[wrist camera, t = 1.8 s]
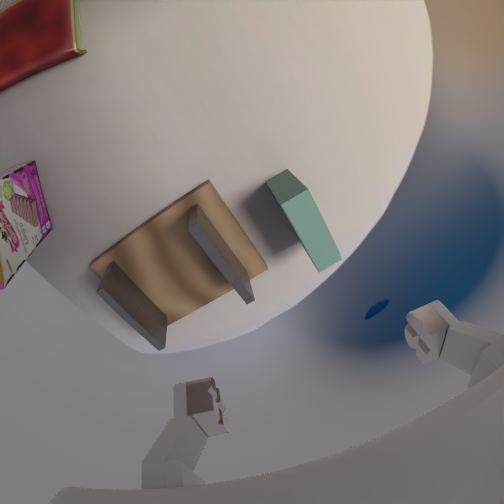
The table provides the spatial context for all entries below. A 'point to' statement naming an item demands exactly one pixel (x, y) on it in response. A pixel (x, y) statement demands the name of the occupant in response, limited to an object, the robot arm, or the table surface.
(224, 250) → the bookends
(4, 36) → the hardcover book
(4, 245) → the candy bar box
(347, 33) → the table surface
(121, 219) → the table surface
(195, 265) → the shelf board
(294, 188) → the book
